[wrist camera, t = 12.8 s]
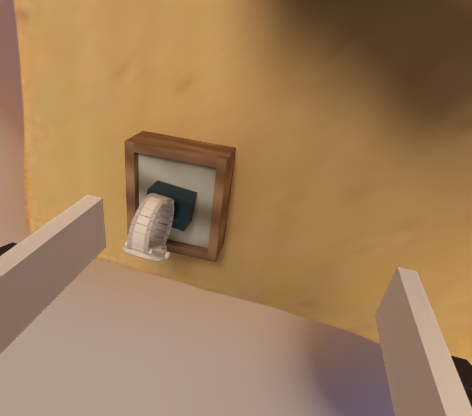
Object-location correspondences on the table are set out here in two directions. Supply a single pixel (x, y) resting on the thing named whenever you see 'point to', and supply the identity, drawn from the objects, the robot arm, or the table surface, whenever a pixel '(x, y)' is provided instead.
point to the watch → (159, 220)
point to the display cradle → (183, 186)
